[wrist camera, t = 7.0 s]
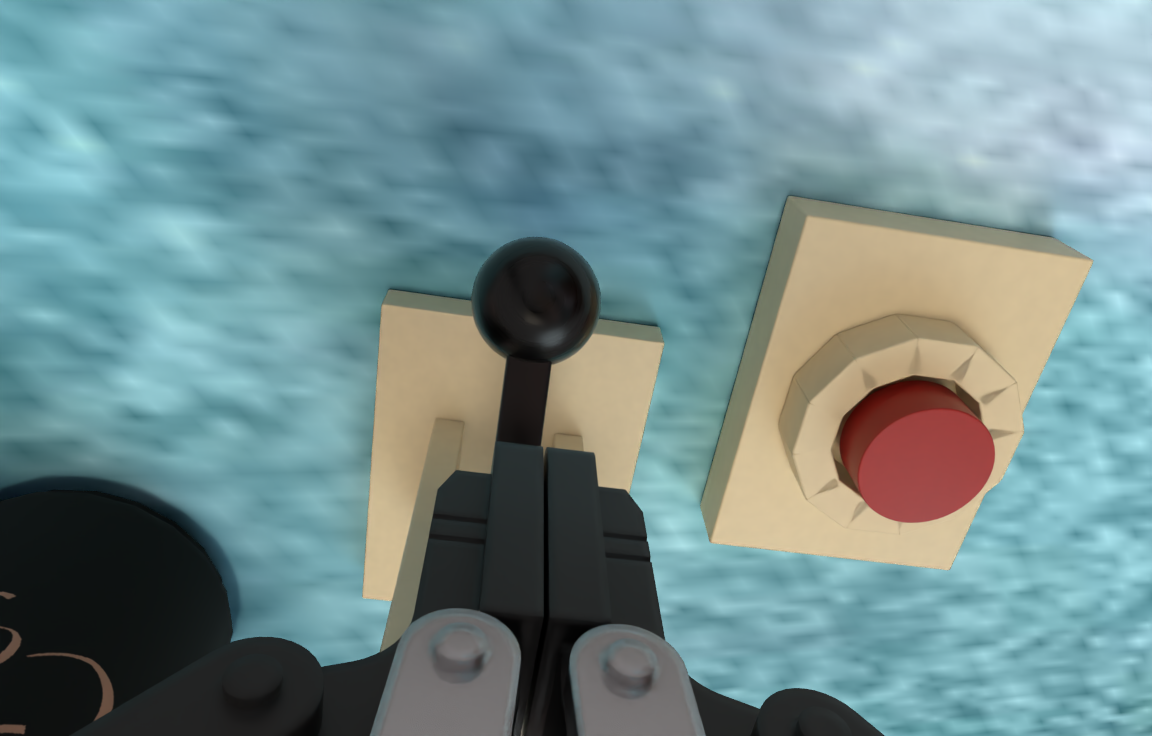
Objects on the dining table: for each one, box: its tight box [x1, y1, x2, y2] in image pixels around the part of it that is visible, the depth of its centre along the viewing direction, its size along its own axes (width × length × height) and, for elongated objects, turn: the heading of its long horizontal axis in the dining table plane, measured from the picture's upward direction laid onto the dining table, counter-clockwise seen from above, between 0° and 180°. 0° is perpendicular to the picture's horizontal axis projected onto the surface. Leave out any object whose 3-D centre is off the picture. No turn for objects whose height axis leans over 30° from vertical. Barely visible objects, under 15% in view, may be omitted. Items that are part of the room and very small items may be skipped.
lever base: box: [362, 289, 664, 652], centre depth 24 cm, size 12×9×13 cm
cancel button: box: [840, 380, 995, 523], centre depth 25 cm, size 4×4×2 cm
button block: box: [700, 196, 1093, 570], centre depth 27 cm, size 12×9×4 cm
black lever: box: [471, 237, 601, 736], centre depth 20 cm, size 13×3×3 cm, turn 171°
